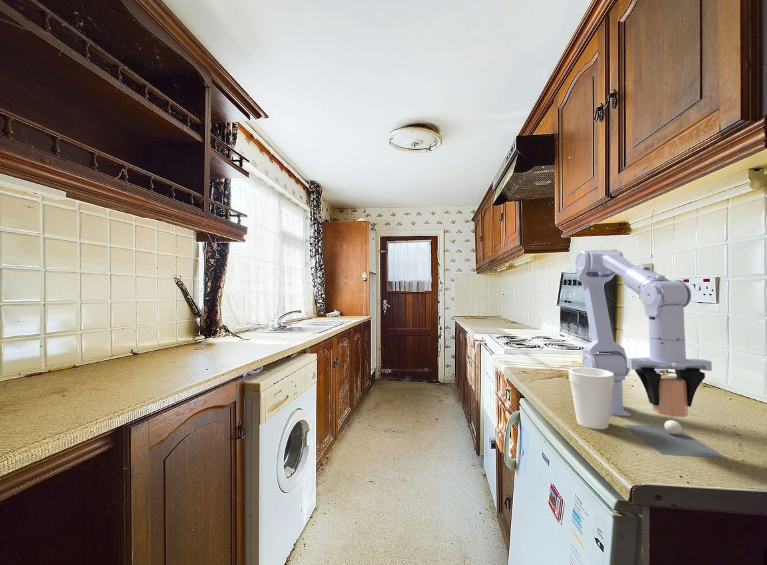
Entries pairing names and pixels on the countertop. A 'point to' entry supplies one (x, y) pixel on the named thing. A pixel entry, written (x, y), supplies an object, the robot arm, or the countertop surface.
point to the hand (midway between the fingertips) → (669, 404)
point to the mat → (673, 442)
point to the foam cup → (592, 396)
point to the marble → (673, 427)
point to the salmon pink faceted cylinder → (672, 397)
